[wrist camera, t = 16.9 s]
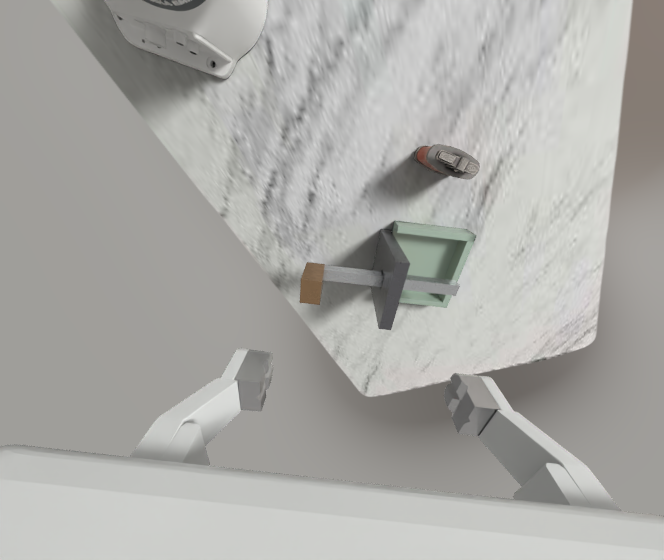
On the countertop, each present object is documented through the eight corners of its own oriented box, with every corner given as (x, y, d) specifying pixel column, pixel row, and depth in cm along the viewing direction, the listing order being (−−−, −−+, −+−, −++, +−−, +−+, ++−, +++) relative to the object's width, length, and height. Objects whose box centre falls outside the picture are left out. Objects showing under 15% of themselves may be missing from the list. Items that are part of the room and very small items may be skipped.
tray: (378, 290, 54) (380, 300, 50) (394, 220, 46) (398, 226, 43) (439, 297, 54) (446, 307, 50) (466, 229, 46) (476, 235, 43)
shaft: (307, 277, 43) (299, 302, 36) (308, 257, 41) (301, 279, 34) (449, 294, 43) (469, 322, 36) (456, 275, 41) (480, 300, 34)
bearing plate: (369, 281, 53) (378, 328, 39) (380, 229, 47) (396, 261, 33) (378, 282, 53) (390, 329, 39) (390, 230, 47) (410, 263, 33)
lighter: (462, 159, 41) (494, 161, 32) (451, 179, 42) (479, 186, 33) (420, 141, 40) (442, 137, 31) (410, 162, 41) (428, 164, 32)
